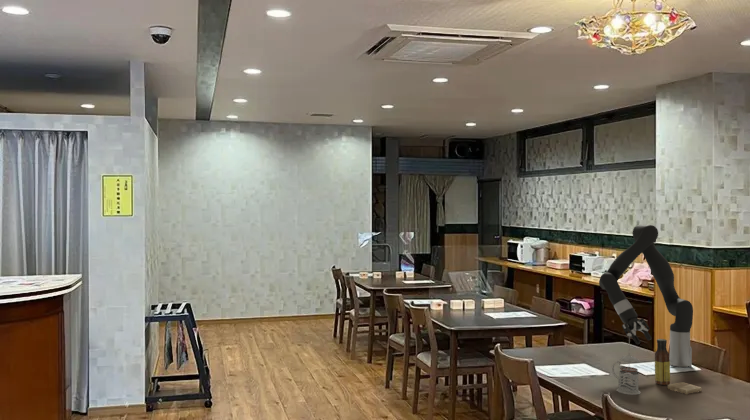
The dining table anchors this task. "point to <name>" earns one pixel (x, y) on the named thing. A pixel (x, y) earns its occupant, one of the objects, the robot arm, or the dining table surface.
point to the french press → (628, 375)
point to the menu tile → (684, 387)
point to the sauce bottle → (662, 363)
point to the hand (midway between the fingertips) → (644, 341)
